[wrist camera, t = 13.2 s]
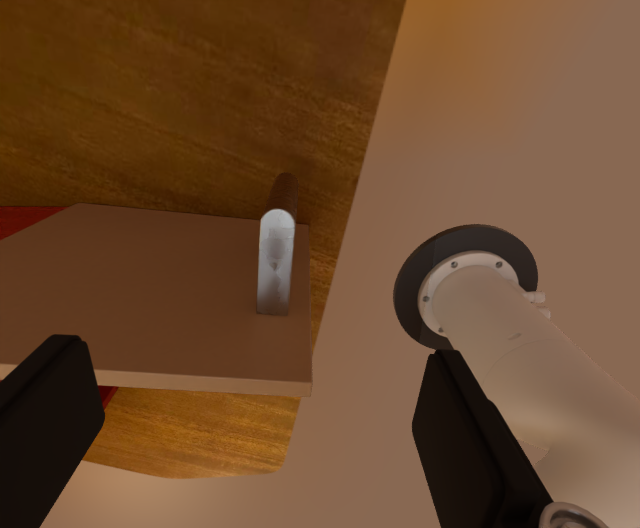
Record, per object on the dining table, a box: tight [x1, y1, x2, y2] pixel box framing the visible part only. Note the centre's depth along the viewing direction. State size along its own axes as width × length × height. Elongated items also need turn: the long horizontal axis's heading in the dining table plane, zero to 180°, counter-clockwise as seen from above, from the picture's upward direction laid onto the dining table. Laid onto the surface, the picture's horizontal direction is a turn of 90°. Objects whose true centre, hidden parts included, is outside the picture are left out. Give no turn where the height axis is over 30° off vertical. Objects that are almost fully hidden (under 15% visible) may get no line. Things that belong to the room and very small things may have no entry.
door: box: [0, 172, 312, 397], centre depth 26 cm, size 8×24×24 cm, turn 83°
